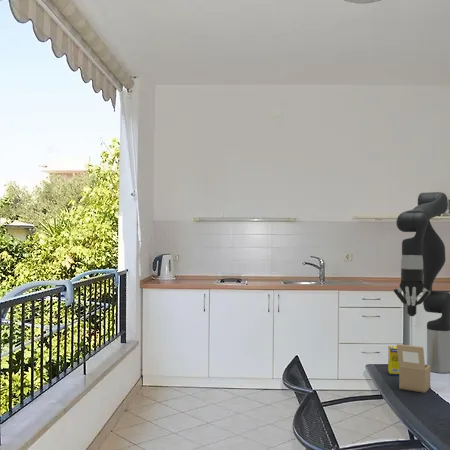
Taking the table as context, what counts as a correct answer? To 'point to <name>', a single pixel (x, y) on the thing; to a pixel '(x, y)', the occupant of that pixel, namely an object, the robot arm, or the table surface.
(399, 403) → the table surface
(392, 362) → the supplement box
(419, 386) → the carton
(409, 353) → the flap
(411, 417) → the table surface
